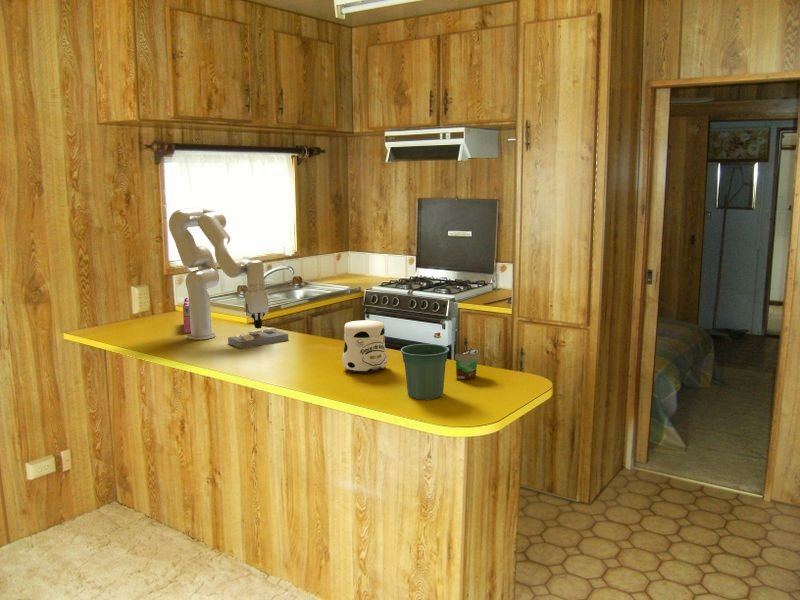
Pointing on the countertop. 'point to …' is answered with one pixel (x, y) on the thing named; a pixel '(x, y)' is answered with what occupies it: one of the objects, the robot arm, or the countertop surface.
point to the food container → (466, 365)
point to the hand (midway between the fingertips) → (258, 327)
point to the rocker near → (246, 336)
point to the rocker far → (269, 329)
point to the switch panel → (258, 339)
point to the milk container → (364, 346)
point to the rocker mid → (255, 332)
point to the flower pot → (425, 370)
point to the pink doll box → (186, 316)
